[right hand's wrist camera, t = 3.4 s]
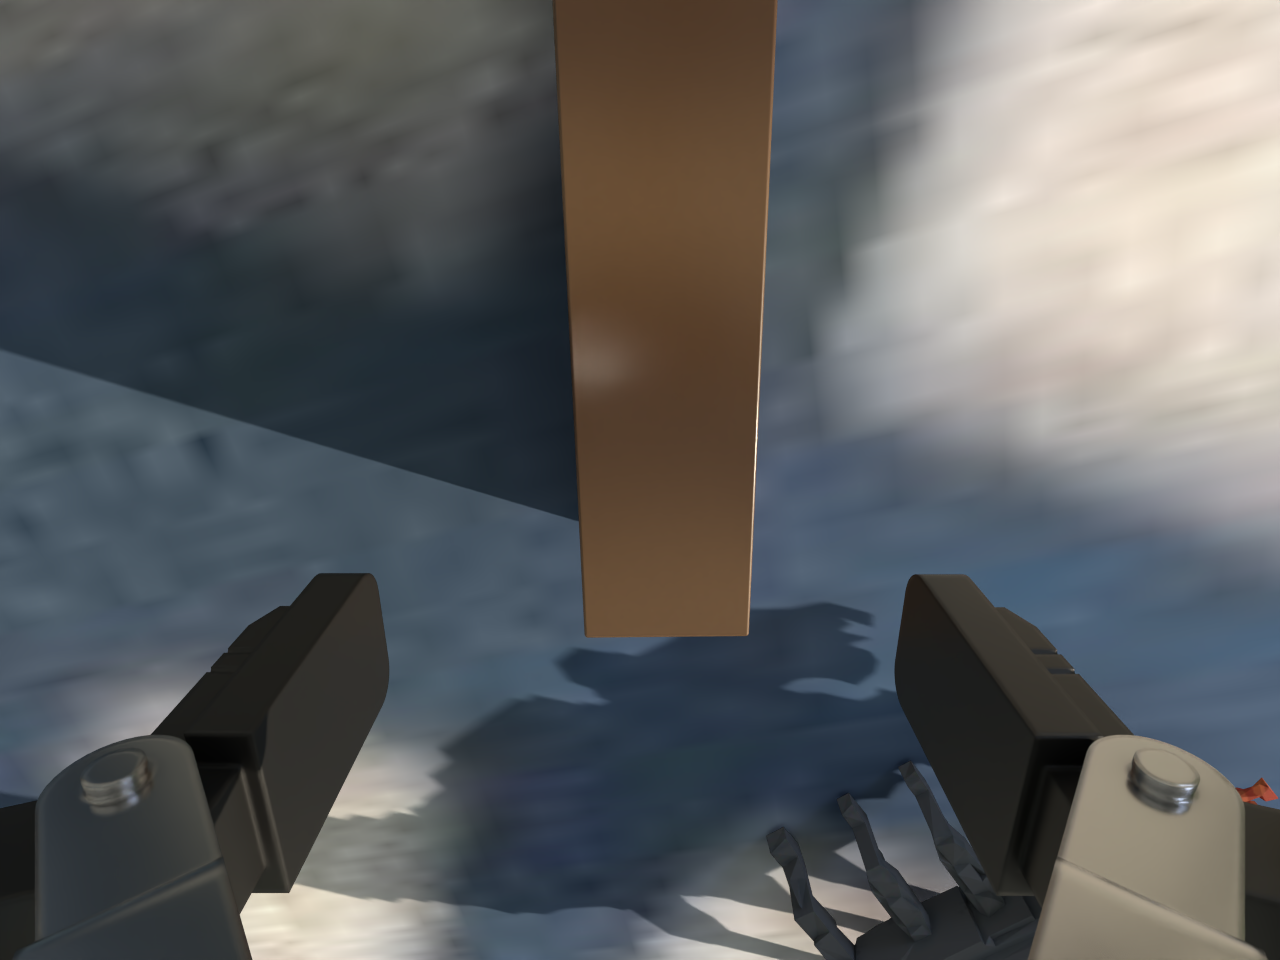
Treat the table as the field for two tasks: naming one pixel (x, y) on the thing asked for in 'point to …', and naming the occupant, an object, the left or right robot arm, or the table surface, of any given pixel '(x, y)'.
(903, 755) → the table surface
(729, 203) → the post
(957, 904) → the toy
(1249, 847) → the right robot arm
